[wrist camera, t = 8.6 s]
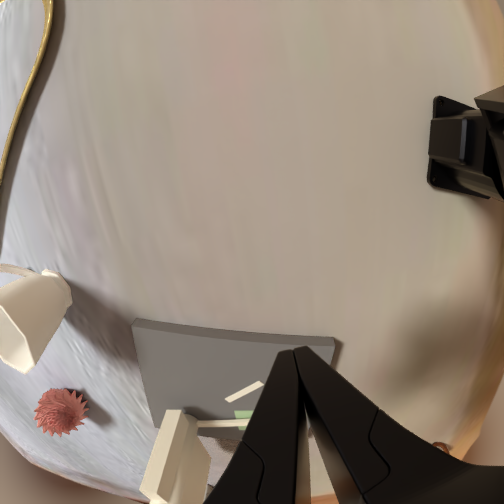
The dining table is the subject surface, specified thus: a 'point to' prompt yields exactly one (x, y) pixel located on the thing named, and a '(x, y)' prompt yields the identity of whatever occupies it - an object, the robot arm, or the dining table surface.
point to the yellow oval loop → (47, 28)
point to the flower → (60, 411)
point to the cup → (30, 314)
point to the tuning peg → (180, 460)
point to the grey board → (210, 370)
